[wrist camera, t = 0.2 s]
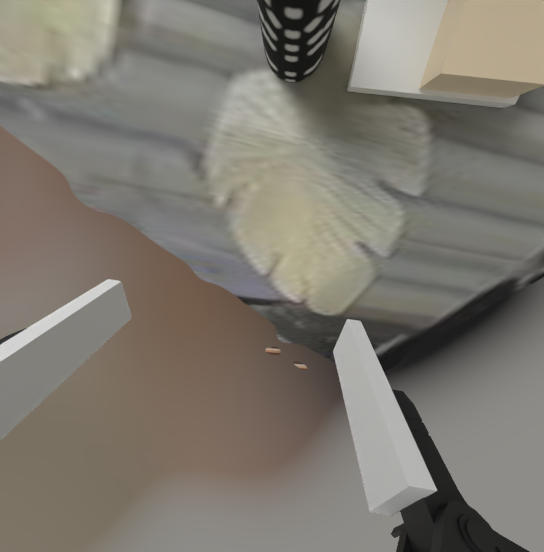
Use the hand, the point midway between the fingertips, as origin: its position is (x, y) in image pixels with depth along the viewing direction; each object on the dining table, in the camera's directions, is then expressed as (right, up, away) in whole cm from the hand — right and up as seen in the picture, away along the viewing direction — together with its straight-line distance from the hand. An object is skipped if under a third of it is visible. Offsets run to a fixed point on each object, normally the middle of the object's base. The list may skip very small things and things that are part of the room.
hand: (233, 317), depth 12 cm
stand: (+24, +33, +13) cm, 43 cm away
